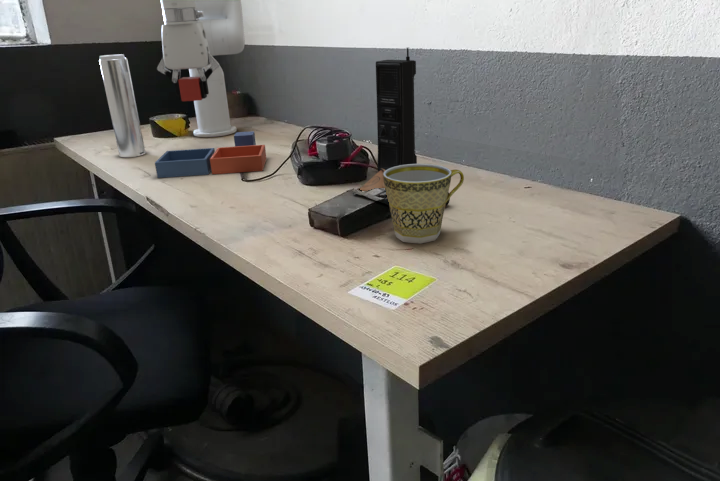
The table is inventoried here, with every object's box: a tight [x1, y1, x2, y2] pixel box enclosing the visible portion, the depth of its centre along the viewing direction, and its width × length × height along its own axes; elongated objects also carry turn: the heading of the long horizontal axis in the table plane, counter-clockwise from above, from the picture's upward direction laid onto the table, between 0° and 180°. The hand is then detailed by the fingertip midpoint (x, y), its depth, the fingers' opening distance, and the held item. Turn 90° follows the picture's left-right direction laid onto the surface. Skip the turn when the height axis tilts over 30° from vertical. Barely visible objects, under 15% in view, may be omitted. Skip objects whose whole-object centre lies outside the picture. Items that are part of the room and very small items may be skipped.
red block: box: [178, 76, 203, 102], centre depth 136 cm, size 5×5×5 cm
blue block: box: [233, 130, 257, 147], centre depth 143 cm, size 5×5×5 cm
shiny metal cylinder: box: [98, 53, 146, 158], centre depth 144 cm, size 6×6×25 cm
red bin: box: [210, 144, 267, 175], centre depth 132 cm, size 11×11×4 cm
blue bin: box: [154, 147, 216, 179], centre depth 131 cm, size 11×11×4 cm
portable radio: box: [375, 47, 418, 172], centre depth 117 cm, size 8×6×25 cm
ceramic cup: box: [383, 163, 465, 245], centre depth 86 cm, size 13×10×10 cm
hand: (193, 97), depth 137 cm, fingers closed on red block, 4 cm apart
